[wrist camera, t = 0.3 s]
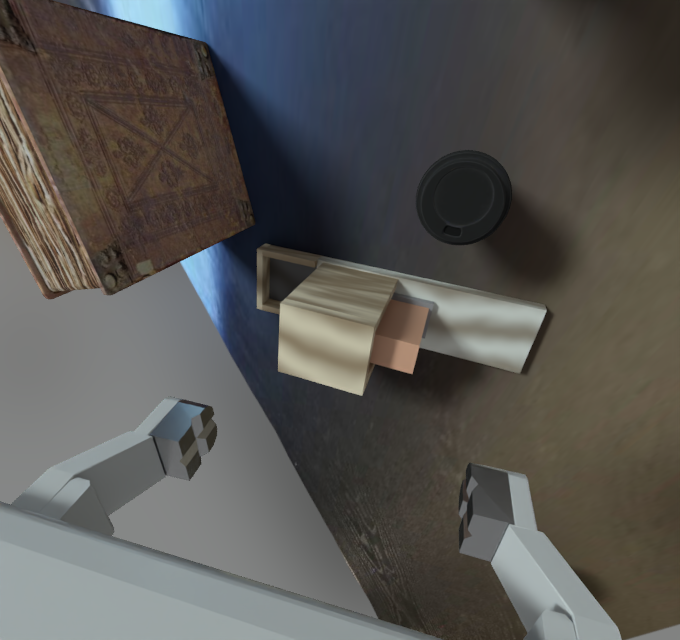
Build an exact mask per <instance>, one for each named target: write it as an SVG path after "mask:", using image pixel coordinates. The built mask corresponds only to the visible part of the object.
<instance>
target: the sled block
mask: <svg viewBox="0 0 680 640" xmlns="http://www.w3.org/2000/svg"><path fill="white" fill-rule="evenodd" d="M433 305H434V302H433V301H429V300H424V299H420V298H416V297H411V296H407V295H403V294H398V293H394V294H393V296H392V298H391V300H390V302H389V304H388V306H387V308H386V311H385V313H384V315H383V317H382V319H381V321H380V323H379V325H378V327H377V330H376V332H375V337H374V342H373V348H372V353H371V359H370V363H373V364H377V365H380V366H384V367H388V368H391V369H395V370H399V371H402V372H406V373H410V374H413V370H414V366H415V362H416V358H417V354H418V350H419V346H420V342H421V338H424V339H425V336H426V332H427V328H428V324H429V321H430V317H431V313H432V309H433Z"/></svg>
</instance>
